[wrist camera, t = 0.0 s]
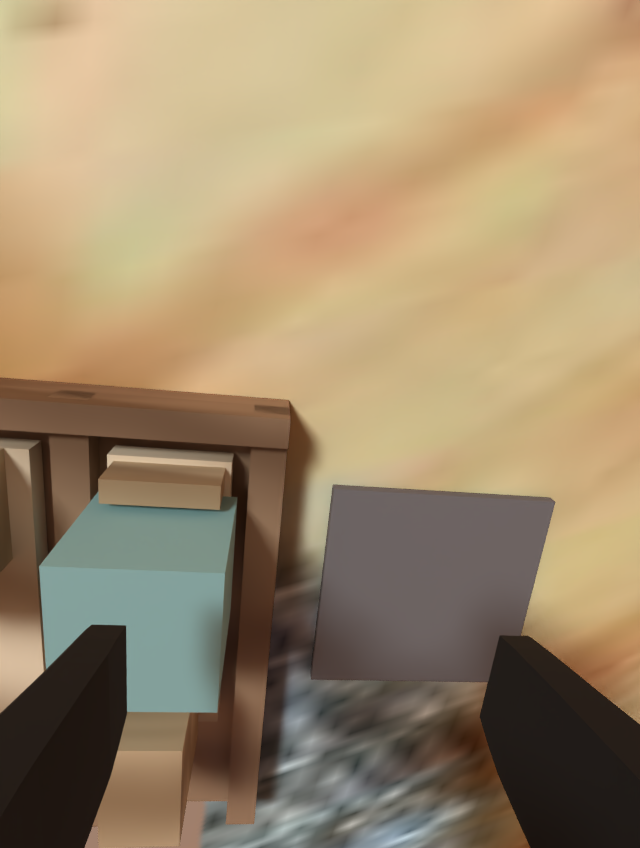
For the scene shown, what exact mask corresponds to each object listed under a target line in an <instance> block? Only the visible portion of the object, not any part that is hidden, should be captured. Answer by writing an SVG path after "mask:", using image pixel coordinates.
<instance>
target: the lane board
mask: <svg viewBox="0 0 640 848" xmlns="http://www.w3.org/2000/svg"><path fill="white" fill-rule="evenodd" d="M290 422H291V418H290V409H289V400H281V399H268V398H255V397H242V396H229V395H217V394H204V393H191V392H178V391H165V390H152V389H140V388H127V387H114V386H101V385H88V384H75V383H62V382H50V381H37V380H24V379H11V378H0V438H12V439H27V440H41V445H42V462H43V478H44V495H45V512H46V528H47V545H48V554H49V553H50V552H51V551H52V549H53V548H54V547H55V546H56V544H57V543H58V542H59V541H60V539H61V538H62V537H63V535H64V534H65V533H66V532H67V530H68V529H69V528H70V527H71V525H72V524H73V523H74V522H75V520H76V519H77V518H78V517H79V515H80V514H81V513H82V511H83V510H84V509H85V508H86V506H87V505H88V504H89V503H90V501H91V500H92V499H93V498H94V496H95V495H96V494H97V492H98V479H99V477H100V476H101V475H102V474H103V473H104V471H105V470H106V469H107V454H108V453H109V452H110V451H111V450H112V448H113V447H114V446H115V445H119V446H134V447H150V448H165V449H180V450H196V451H211V452H226V453H234V461H233V479H232V496H231V497H237V512H236V528H235V545H234V562H233V578H232V595H231V610H230V618H229V626H228V634H227V641H226V649H225V657H224V665H223V672H222V680H221V691H220V705H219V713H218V721H217V722H198V736H197V742H196V749H195V755H194V761H193V767H192V773H191V779H190V785H189V791H188V797H187V801H228V802H227V817H226V824H254V818H255V807H256V796H257V784H258V773H259V762H260V750H261V739H262V728H263V717H264V705H265V694H266V683H267V672H268V660H269V649H270V638H271V626H272V615H273V604H274V593H275V581H276V570H277V559H278V547H279V536H280V525H281V514H282V502H283V491H284V480H285V469H286V457H287V449H288V444H289V433H290ZM96 826H98V815H96V818H95V820H94V823H93V826H92V827H96Z"/></svg>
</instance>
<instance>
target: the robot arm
mask: <svg viewBox="0 0 640 848" xmlns="http://www.w3.org/2000/svg"><path fill="white" fill-rule="evenodd" d="M126 716H127V653H126V625H91V626H89V627H88V628H87V629H86V630H85V631H84V632H83V633H82V634H81V635H80V636H79V637H78V638H77V639H76V640H75V641H74V642H73V643H72V644H71V645H70V646H69V647H68V648H67V649H66V650H65V651H64V652H63V653H62V654H61V655H60V656H59V657H58V658H57V659H56V660H55V661H54V662H53V663H52V664H51V665H50V666H49V667H48V668H47V669H46V670H45V671H44V672H43V673H42V674H41V675H40V676H39V677H38V678H37V679H36V680H35V681H34V682H33V683H32V684H31V685H30V686H29V687H28V688H26V689H25V690H24V691H23V692H22V693H21V694H20V695H19V696H18V697H17V698H16V699H15V700H14V701H13V702H12V703H11V704H10V705H9V706H7V707H6V708H5V709H4V710H3V711H2V712H1V713H0V848H84V847H85V844H86V842H87V839H88V836H89V834H90V831H91V828H92V826H93V823H94V820H95V818H96V815H97V812H98V809H99V807H100V804H101V801H102V799H103V796H104V793H105V790H106V788H107V785H108V782H109V779H110V777H111V773H112V770H113V766H114V762H115V759H116V755H117V751H118V747H119V744H120V740H121V736H122V732H123V728H124V724H125V720H126ZM480 719H481V722H482V726H483V729H484V732H485V736H486V739H487V742H488V745H489V749H490V752H491V755H492V758H493V761H494V764H495V767H496V770H497V773H498V775H499V777H500V780H501V782H502V784H503V787H504V789H505V791H506V794H507V796H508V798H509V800H510V803H511V805H512V807H513V809H514V812H515V814H516V816H517V819H518V821H519V823H520V825H521V828H522V830H523V832H524V834H525V836H526V839H527V841H528V843H529V845H530V848H640V724H638V723H637V722H636V721H635V720H633V719H632V718H631V717H630V716H628V715H627V714H626V713H625V712H623V711H622V710H621V709H620V708H618V707H617V706H616V705H615V704H613V703H612V702H611V701H610V700H608V699H607V698H606V697H605V696H603V695H602V694H601V693H600V692H598V691H597V690H596V689H595V688H594V687H592V686H591V685H590V684H589V683H587V682H586V681H585V680H584V679H582V678H581V677H580V676H579V675H578V674H576V673H575V672H574V671H573V670H571V669H570V668H569V667H568V666H567V665H565V664H564V663H563V662H562V661H560V660H559V659H558V658H557V657H555V656H554V655H553V654H552V653H550V652H549V651H548V650H547V649H545V648H544V647H543V646H541V645H540V644H539V643H537V642H536V641H535V640H533V639H532V638H531V637H529V636H507V635H500V636H499V640H498V644H497V648H496V652H495V656H494V660H493V664H492V668H491V672H490V677H489V681H488V685H487V689H486V693H485V697H484V701H483V705H482V709H481V713H480Z"/></svg>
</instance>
